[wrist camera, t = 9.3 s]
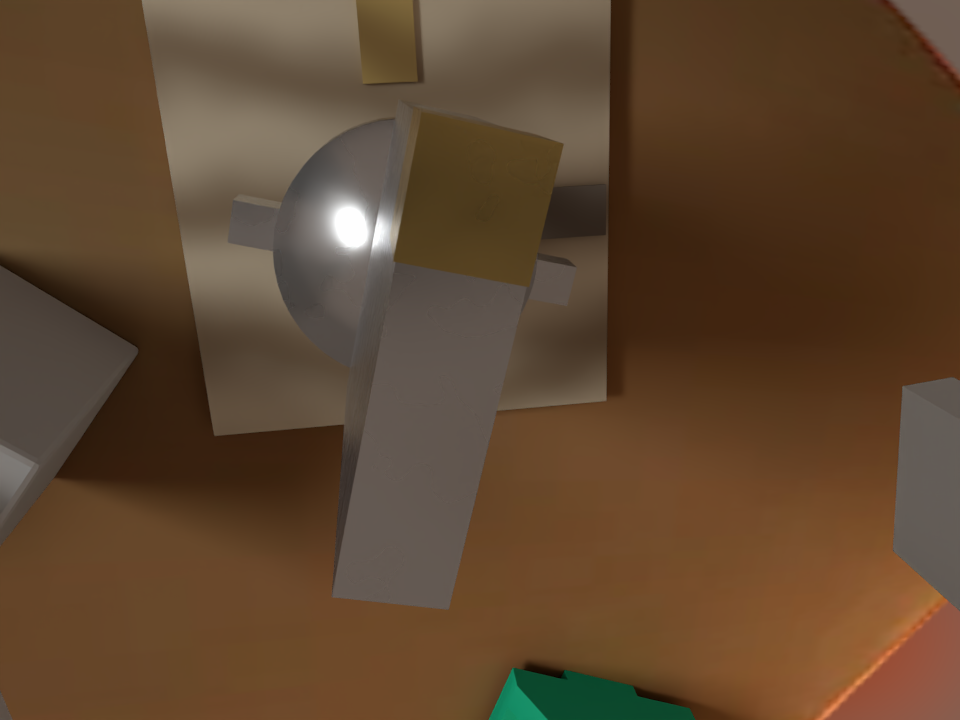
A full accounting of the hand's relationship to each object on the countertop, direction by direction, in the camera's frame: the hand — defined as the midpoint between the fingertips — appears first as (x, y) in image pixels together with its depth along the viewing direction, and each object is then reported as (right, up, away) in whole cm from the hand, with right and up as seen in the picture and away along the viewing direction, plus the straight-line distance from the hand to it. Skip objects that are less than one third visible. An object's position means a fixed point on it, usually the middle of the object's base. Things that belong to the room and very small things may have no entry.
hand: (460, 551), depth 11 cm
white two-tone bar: (-3, +7, +21) cm, 23 cm away
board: (-4, +10, +28) cm, 30 cm away
